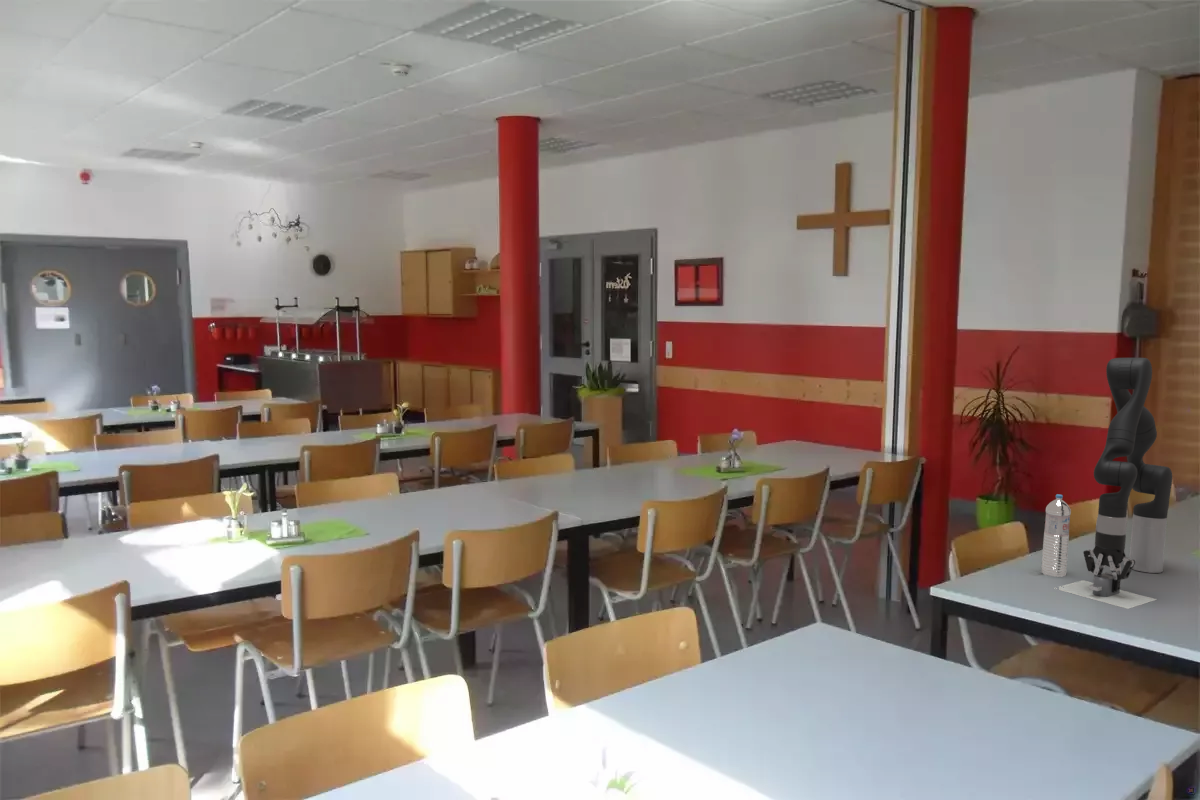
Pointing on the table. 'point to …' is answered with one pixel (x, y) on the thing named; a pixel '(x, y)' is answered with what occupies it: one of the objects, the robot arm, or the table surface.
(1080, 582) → the rubber mat
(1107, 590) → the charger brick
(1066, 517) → the water bottle
